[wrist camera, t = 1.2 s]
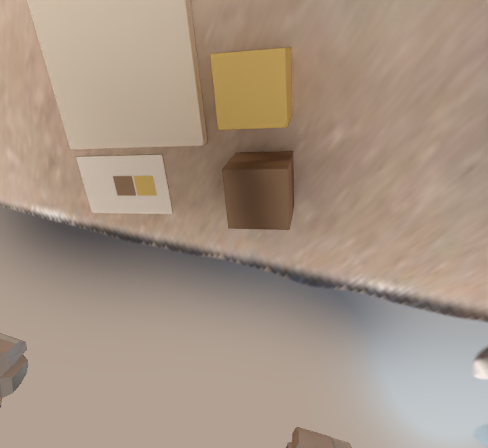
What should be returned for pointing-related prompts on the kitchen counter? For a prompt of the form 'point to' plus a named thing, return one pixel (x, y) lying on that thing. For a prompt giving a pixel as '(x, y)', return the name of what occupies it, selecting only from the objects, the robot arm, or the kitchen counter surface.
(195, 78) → the plate
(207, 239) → the kitchen counter surface
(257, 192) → the walnut block
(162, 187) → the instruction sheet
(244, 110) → the mustard block
